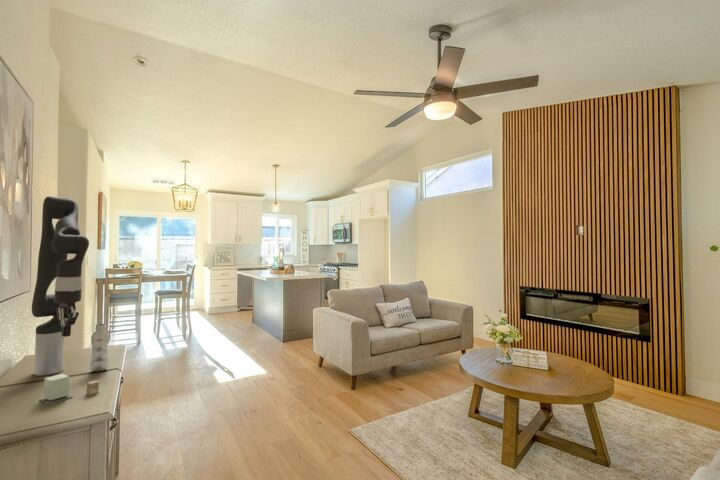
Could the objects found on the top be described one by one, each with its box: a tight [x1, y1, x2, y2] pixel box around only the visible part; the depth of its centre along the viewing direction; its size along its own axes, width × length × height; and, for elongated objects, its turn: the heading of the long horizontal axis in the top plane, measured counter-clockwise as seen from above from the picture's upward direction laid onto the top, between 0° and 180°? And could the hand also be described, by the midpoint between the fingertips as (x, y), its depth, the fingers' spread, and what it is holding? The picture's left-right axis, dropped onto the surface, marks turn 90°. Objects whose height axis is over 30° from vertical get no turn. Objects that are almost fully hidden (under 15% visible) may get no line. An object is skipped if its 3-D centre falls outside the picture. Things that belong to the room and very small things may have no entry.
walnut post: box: [38, 394, 74, 406], centre depth 123 cm, size 7×7×7 cm
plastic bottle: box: [89, 323, 110, 373], centre depth 152 cm, size 6×7×20 cm
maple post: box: [86, 380, 100, 396], centre depth 128 cm, size 3×3×4 cm
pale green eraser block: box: [43, 373, 70, 400], centre depth 123 cm, size 5×5×7 cm
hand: (66, 336), depth 128 cm, fingers closed
